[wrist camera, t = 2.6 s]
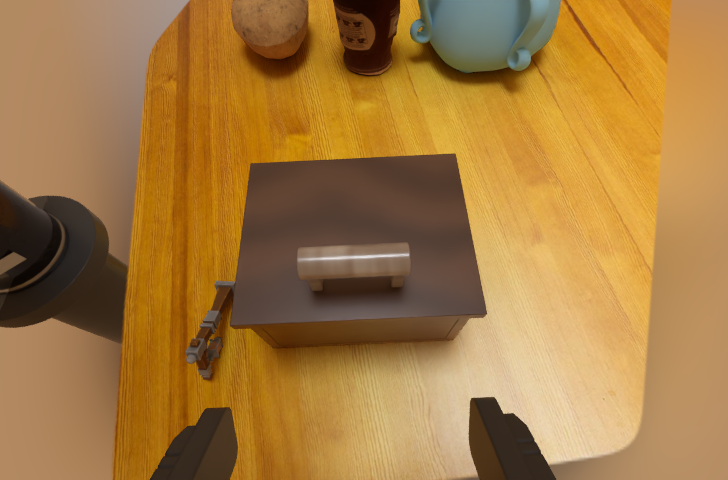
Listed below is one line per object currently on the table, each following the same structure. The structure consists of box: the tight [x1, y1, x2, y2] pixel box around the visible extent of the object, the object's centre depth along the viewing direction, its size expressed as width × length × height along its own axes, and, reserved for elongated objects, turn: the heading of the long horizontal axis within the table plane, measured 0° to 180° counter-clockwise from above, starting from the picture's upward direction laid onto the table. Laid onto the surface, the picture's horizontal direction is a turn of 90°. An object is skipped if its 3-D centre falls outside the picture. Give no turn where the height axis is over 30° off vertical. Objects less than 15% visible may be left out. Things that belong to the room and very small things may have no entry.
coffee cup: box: [333, 0, 400, 75], centre depth 44 cm, size 9×8×13 cm
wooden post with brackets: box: [185, 281, 235, 380], centre depth 32 cm, size 2×8×4 cm, turn 177°
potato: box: [231, 0, 308, 59], centre depth 48 cm, size 10×14×8 cm
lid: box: [230, 154, 487, 329], centre depth 24 cm, size 12×16×5 cm
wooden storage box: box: [251, 318, 470, 348], centre depth 31 cm, size 12×16×10 cm
